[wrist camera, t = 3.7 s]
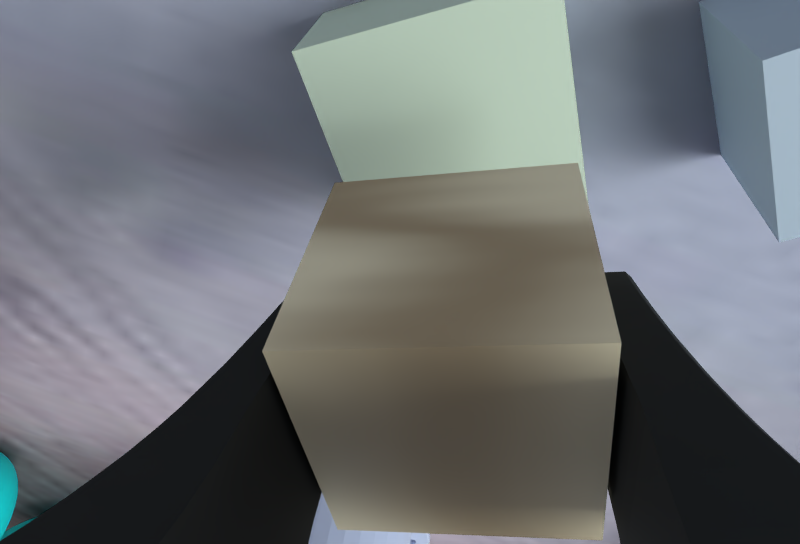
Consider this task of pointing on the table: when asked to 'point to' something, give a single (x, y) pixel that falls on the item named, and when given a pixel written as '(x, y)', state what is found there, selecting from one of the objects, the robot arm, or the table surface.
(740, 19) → the slate cube
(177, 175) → the table surface
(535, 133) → the pale green block
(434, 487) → the beech cube
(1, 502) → the donuts
